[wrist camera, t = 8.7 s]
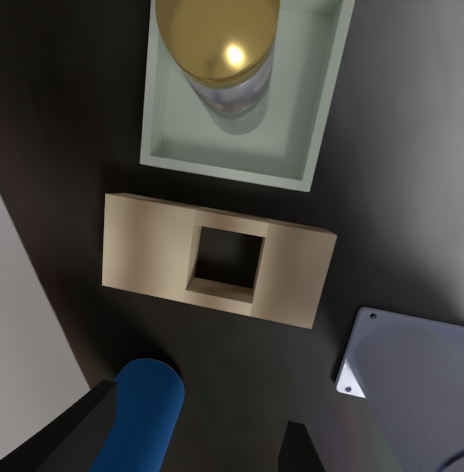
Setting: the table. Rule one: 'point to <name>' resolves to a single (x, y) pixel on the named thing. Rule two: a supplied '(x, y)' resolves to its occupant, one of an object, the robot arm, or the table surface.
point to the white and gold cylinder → (224, 55)
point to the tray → (278, 110)
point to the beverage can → (142, 418)
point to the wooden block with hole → (186, 250)
